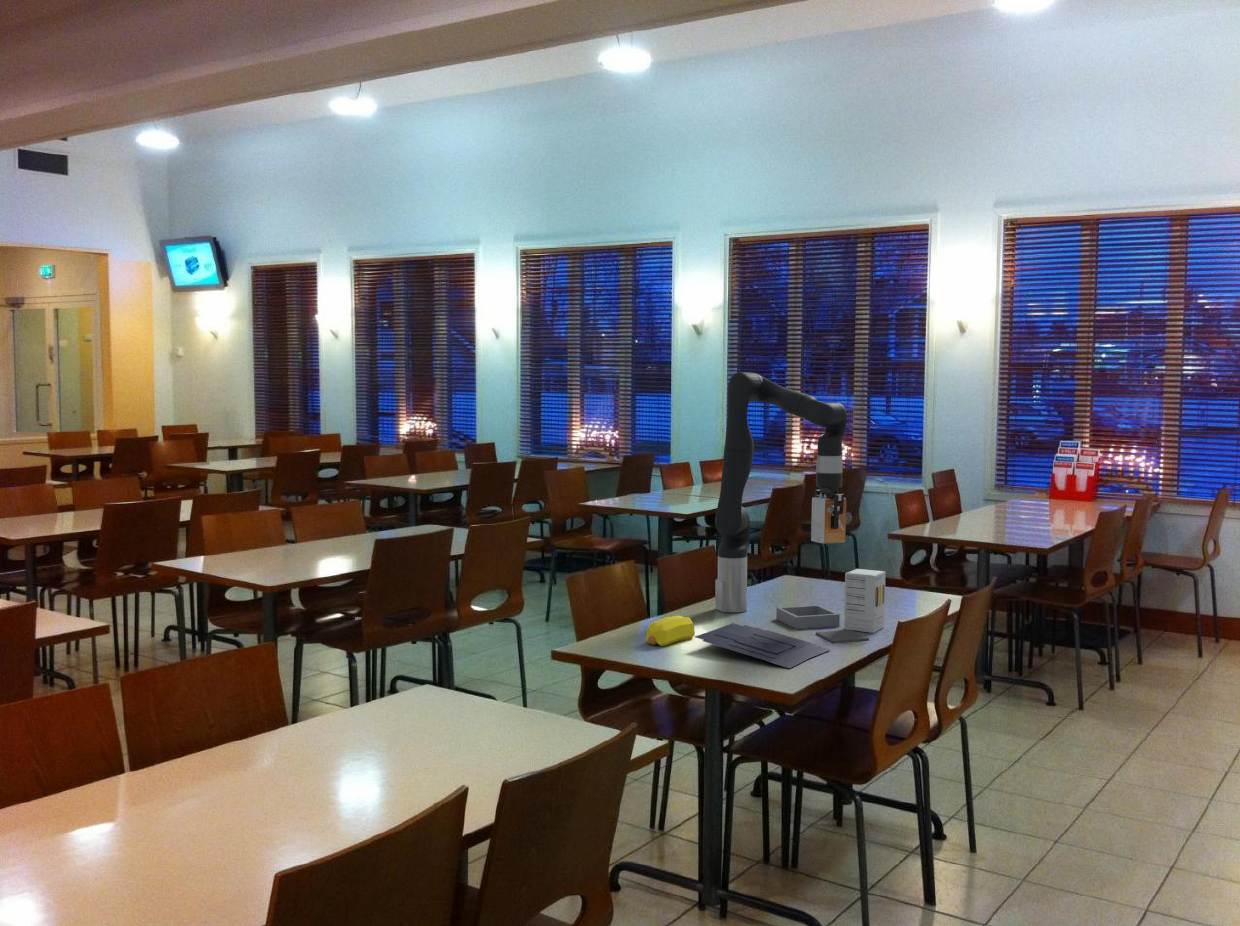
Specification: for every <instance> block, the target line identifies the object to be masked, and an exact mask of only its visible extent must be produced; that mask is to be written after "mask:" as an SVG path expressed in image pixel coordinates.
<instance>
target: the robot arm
mask: <svg viewBox="0 0 1240 926" xmlns="http://www.w3.org/2000/svg"><path fill="white" fill-rule="evenodd" d="M754 402H755V403H756V402H758V403H765V404H770V405H773V406H776V407H777V408H779V409H781V410H782V411H784V412H786V413H788V414H790V415H793V416H795V417H798V418H801V419H805V420H806V421H807V422H810V423H811V424H813V425H816V426H818V427H823V428H825V429H824V433H823V434H822V435H820V436H819V437H818V438H817V439H818V440H817V453H816V454H817V455H816V457H817V458H816V466H815V467H816V471H815V472H816V473H815V474H816V475H815V478H816V479H815V484H816V485H815V486H816V487H817V488H820V489H815V490H814V498H817V497H821V498H825V499H832V500H833V499H834V505H831V506H829V507H830V509H831V529H838V526H839V516H840V515H841V514H843V504H844V498H845V496H844V493H839V488H842V487H843V456H842V455H843V452H842V451H843V439H844V436H845V431H846V428H847V423H848V413H847V409H846V407H845V406H844V405H843V404H842V403H840V402H824V401H820V400H818V399H817V398H816V397H814V396H812V395H809V394H807V393H803V392H801V391H797V390H794V389H790V388H786V387H784V386H781V385H779V384H778V383H775V382H774V381H771V380H769V379H768V378H765V377H764V376H762V375H760V374H759V373H756V372H749V371H747V372H745V371H738V372H735V373H733V374H732V376H731V377H730V378H729V380H728V385H727V413H726V414H727V415H726V416H727V417H726V431H725V442H724V446H723V447H724V448H723V454H722V455H723V456H722V457H723V458H722V469H721V478H720V479H721V480H720V481H721V483H720V491H719V497H718V502H717V507H716V511H715V517H714V523H715V529H716V530H717V531H718V533H720V535H721V540H720V543H719V546H718V548H717V578H716V579H715V581H714V582H715V583H714V584H715V587H714V588H715V596H714V597H715V598H714V599H715V600H714V601H715V606H714V608H715V610H717V611H719V612H720V613H742V612H746V611H747V610H748V607H747V605H748V601H747V600H748V599H747V598H748V550H749V547H750V538H751V535H750V534H751V533H750V532H751V519H750V514H749V512H748V510H747V509H746V508H745V507H744V506H742V505H743V494H744V490H745V487H746V484H747V482H748V480H749V477H750V474H751V471H752V467H753V462H754V454H755V453H754V451H755V442H754V438H753V436H752V432H751V429H750V426H749V421H748V409H749V403H754ZM839 507H840V510H839ZM833 508H834V511H833Z"/></svg>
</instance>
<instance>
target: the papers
mask: <svg viewBox="0 0 1240 926" xmlns="http://www.w3.org/2000/svg"><path fill="white" fill-rule="evenodd" d="M694 638H696V639H700V640H701V641H702V642H705V643H708V644H711V645H712V646H716V647H720V648H722V649H727V650H731V651H732V652H733V651H734V652H736V653H740V654H743V655H746V656H749V657H750V656H751V657H752V658H756V659H760V660H763V661H765V662H767V663H770V664H771V663H772V664H774V665H776V666H777V665H778V666H781V667H784V668H788V669H791V668H793V667H795V666H797V665H800V664H801V663H803V662H805V661H806V660H809V659H810V658H813V657H816V656H819V655H821V654H823V653H826V652H829V651H831V650H832V649H831V648H827V647H823V646H821V645H818V644H815V643H812V642H810V641H807V640H802V639H799V638H797V637H793V636H788V635H786V634H783V633H778V632H775V631H772V630H768V629H762V628H758V627H754V626H750V625H745V624H744V625H741V624H737V623H733V622H732V623H730V624H727V625H724V626H721V627H718V628H716V629H713V630H711V631H707V632H704V633H701V634H698V635H694Z"/></svg>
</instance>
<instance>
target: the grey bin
mask: <svg viewBox="0 0 1240 926" xmlns="http://www.w3.org/2000/svg"><path fill="white" fill-rule="evenodd" d="M775 611H776V615H775V616H776V620H778V621H780V622H782V623H783V624H785V625H787V626H790V627H792V628H794V629H795V630H799V629H800V630H802V629H814V628H829V627H840V622H841V621H840V618H841V616H840V615H841V614H840V613H838V612H835V611H833V610H831V609H828V608H826V607H825V606H821V605H819V604H815V605H813V604H812V605H799V606H797V605H796V606H783V607H782V606H781V607H776V610H775Z"/></svg>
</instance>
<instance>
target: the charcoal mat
mask: <svg viewBox="0 0 1240 926" xmlns="http://www.w3.org/2000/svg"><path fill="white" fill-rule="evenodd" d="M815 635H817V636H818V637H820V638H822V639H825V640H827V641H828V642H831V643H833V644H836V643H838V644H839V643H850V642H851V643H852V642H853V643H854V642H862V641H863V642H864V641H870V638H869V637H867V636H865V635H863V634H861V633H859V632H858V631H857V632H856V631H855V630H847V629H842V630H841V629H840V630H826V631H825V630H824V631H815Z"/></svg>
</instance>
